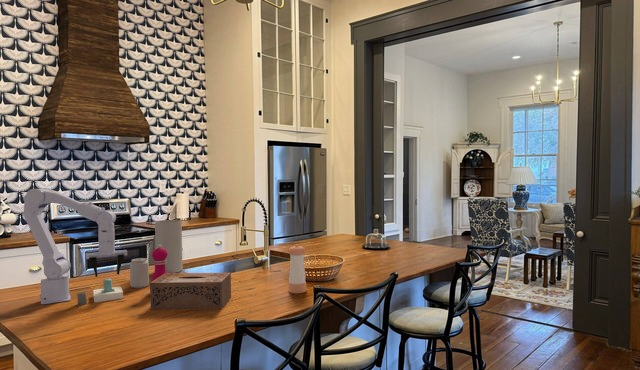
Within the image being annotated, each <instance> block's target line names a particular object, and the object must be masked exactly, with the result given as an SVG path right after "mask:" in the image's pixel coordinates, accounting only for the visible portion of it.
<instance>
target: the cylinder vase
mask: <svg viewBox="0 0 640 370" xmlns="http://www.w3.org/2000/svg"><path fill="white" fill-rule="evenodd" d="M182 222H183V221H182V220H176V219H175V220H173V219H171V220H158V221H155V222H154V229H155V230H154V232H155V233H154V235H155V249H157V248H158V247H157V246H158V245H159V244H161V245H162V248H164V249H166V251H167V253H168V255H167V258H166V262H167V263H166V264H165V268H166V272H167V273H181V272H182V271H183V269H184V268H183V231H182V230H183V227H182V225H183V224H182Z"/></svg>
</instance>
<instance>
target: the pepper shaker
mask: <svg viewBox="0 0 640 370" xmlns="http://www.w3.org/2000/svg"><path fill="white" fill-rule="evenodd" d="M287 252H288V254H289V256H290V257H289V258H290V260H289V261H290V263H289V264H290V266H289V272H288V277H289V279H288V280H289V281H288V292H289V293H291V294H303V293H305V292H306V291H307V282H306V269H305V262H304V261H305V260H304V259H305V258H304V257H305V256H304V255H305V254H306V248H305V247H303V246H302V245H299V244H298V243H296V244H295V245H293V246H291V247H289V249H288V251H287Z"/></svg>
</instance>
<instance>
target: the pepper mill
mask: <svg viewBox="0 0 640 370" xmlns="http://www.w3.org/2000/svg"><path fill="white" fill-rule="evenodd" d="M157 247H158V248H157V249H156V248H154V250H152V253H151V257H152V259H153V261H152V262H153V265H154V272H153V275H152V277H151V281H150V282H152V281H154V280H155V279H157V278H158V277H160V276H162V275H163V274H165V273H167V272H166V268H165V264H166V263H167V262H166V258H167V255H168V253H167V251H166V249H164V248H162V245H161V244H159V245H158V246H157Z"/></svg>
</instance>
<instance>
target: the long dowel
mask: <svg viewBox="0 0 640 370" xmlns="http://www.w3.org/2000/svg"><path fill="white" fill-rule="evenodd" d="M102 281H103V289H104V293H107V292H112V287H113V278H106V279H103V280H102Z"/></svg>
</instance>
